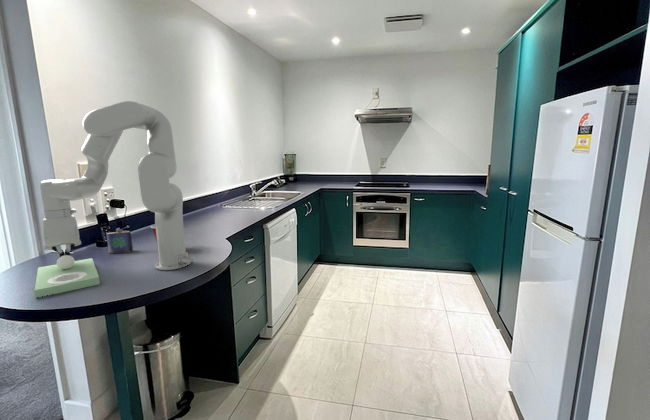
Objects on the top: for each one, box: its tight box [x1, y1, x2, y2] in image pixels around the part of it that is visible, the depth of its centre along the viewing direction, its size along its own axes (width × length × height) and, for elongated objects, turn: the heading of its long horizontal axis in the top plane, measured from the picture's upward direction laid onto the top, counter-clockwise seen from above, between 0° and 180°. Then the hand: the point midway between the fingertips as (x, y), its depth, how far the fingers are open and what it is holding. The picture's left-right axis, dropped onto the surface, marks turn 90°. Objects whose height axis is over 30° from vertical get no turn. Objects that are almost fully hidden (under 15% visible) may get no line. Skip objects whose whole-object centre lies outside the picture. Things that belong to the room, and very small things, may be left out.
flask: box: [105, 227, 134, 254], centre depth 143 cm, size 9×3×11 cm, turn 109°
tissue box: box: [34, 257, 101, 299], centre depth 112 cm, size 26×16×3 cm, turn 39°
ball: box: [56, 255, 76, 269], centre depth 115 cm, size 5×5×5 cm
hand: (66, 262), depth 121 cm, fingers closed
